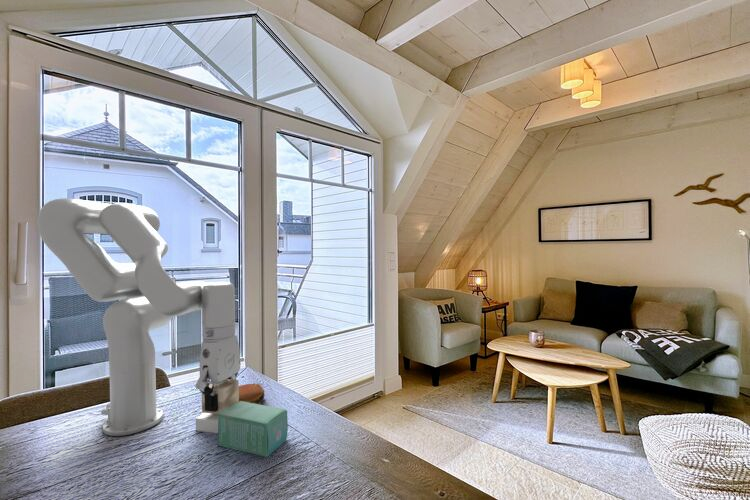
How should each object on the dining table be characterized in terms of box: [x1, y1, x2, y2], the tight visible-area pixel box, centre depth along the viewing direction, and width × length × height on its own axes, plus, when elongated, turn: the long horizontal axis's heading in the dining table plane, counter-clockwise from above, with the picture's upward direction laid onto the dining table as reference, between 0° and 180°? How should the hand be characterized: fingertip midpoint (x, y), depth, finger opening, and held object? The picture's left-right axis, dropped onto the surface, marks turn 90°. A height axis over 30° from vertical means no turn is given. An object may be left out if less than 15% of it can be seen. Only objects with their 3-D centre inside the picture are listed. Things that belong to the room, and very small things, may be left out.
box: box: [217, 401, 289, 458], centre depth 78 cm, size 7×14×8 cm, turn 70°
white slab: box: [195, 412, 218, 434], centre depth 87 cm, size 8×8×3 cm
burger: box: [239, 383, 266, 405], centre depth 99 cm, size 10×9×5 cm
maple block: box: [201, 379, 240, 414], centre depth 87 cm, size 6×6×6 cm
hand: (220, 403), depth 87 cm, fingers closed on maple block, 6 cm apart
